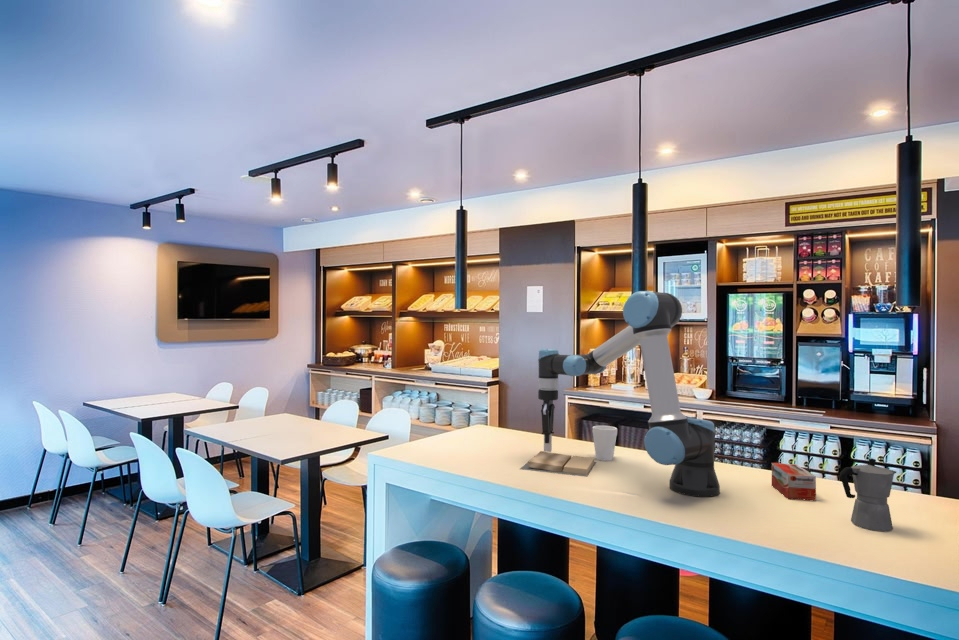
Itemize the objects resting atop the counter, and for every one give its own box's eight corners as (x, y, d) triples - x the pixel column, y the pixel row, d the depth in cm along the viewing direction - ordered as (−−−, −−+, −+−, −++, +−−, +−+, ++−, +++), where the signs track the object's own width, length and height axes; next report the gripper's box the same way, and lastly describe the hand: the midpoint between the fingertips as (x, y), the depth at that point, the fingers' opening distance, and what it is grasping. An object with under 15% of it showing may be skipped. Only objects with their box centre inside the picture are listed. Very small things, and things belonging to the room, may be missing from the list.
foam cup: (617, 464, 208) (618, 430, 208) (592, 463, 209) (593, 429, 209) (615, 459, 217) (615, 426, 217) (591, 457, 218) (592, 425, 219)
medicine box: (816, 501, 167) (816, 475, 167) (787, 500, 169) (788, 474, 169) (796, 487, 182) (796, 463, 182) (770, 486, 184) (770, 462, 184)
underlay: (596, 464, 207) (596, 456, 207) (587, 479, 187) (587, 470, 187) (534, 458, 215) (534, 450, 215) (519, 471, 195) (519, 463, 195)
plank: (571, 460, 209) (571, 455, 209) (561, 472, 192) (561, 466, 192) (540, 456, 213) (540, 451, 213) (528, 467, 196) (528, 461, 196)
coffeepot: (881, 519, 152) (881, 454, 152) (909, 532, 143) (910, 463, 143) (827, 519, 151) (828, 454, 151) (852, 532, 142) (853, 462, 142)
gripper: (542, 387, 216) (542, 447, 216) (534, 390, 204) (533, 453, 204) (561, 388, 214) (560, 448, 213) (554, 391, 202) (553, 455, 201)
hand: (547, 451), depth 208 cm, fingers closed
